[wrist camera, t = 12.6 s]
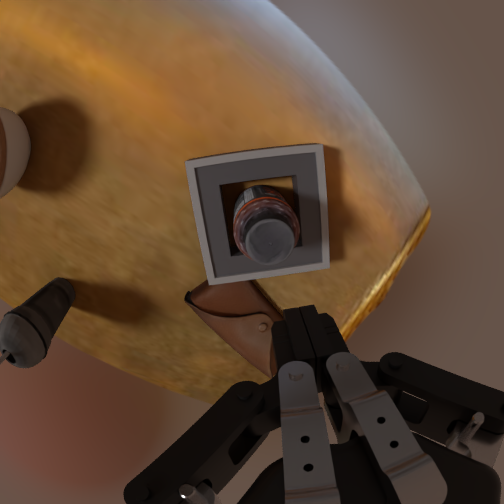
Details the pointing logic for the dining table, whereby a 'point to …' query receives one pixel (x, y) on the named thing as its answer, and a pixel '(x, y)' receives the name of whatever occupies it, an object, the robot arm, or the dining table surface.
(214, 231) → the holder block
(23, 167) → the lidded bowl
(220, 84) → the dining table surface
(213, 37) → the dining table surface
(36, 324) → the beverage cup
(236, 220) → the supplement bottle
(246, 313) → the sunglasses case
